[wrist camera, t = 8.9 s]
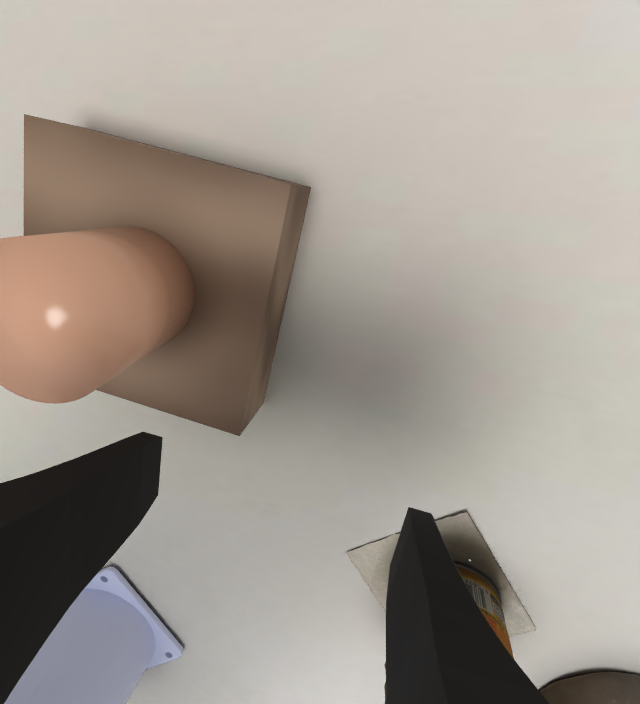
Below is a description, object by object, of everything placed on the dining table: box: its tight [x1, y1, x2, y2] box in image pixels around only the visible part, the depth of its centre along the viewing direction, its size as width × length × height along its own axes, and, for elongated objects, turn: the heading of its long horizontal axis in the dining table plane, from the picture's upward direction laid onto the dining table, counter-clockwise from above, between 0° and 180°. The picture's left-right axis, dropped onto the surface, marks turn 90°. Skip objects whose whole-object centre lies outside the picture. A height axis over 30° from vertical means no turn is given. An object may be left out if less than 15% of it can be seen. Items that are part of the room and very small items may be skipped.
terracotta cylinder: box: [0, 227, 194, 403], centre depth 16 cm, size 5×5×6 cm
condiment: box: [346, 512, 536, 704], centre depth 20 cm, size 7×8×12 cm
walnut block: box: [24, 114, 311, 436], centre depth 21 cm, size 11×11×4 cm
